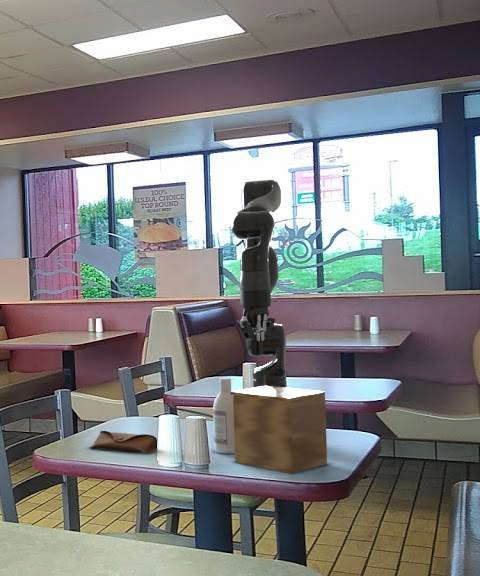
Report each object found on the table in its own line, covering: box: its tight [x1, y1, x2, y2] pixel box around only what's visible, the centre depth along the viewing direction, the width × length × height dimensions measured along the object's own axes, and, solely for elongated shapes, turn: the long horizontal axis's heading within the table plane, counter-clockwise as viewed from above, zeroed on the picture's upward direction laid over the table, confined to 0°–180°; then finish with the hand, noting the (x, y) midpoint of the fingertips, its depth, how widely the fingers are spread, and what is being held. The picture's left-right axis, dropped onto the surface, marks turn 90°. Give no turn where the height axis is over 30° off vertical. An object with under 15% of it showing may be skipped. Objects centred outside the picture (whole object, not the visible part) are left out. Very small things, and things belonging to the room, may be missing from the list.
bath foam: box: [212, 377, 235, 455], centre depth 224 cm, size 7×7×20 cm
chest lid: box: [230, 386, 326, 402], centre depth 209 cm, size 18×15×1 cm
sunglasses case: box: [89, 430, 158, 453], centre depth 233 cm, size 18×7×7 cm
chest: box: [233, 394, 328, 474], centre depth 209 cm, size 17×15×17 cm
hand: (257, 355), depth 213 cm, fingers closed
